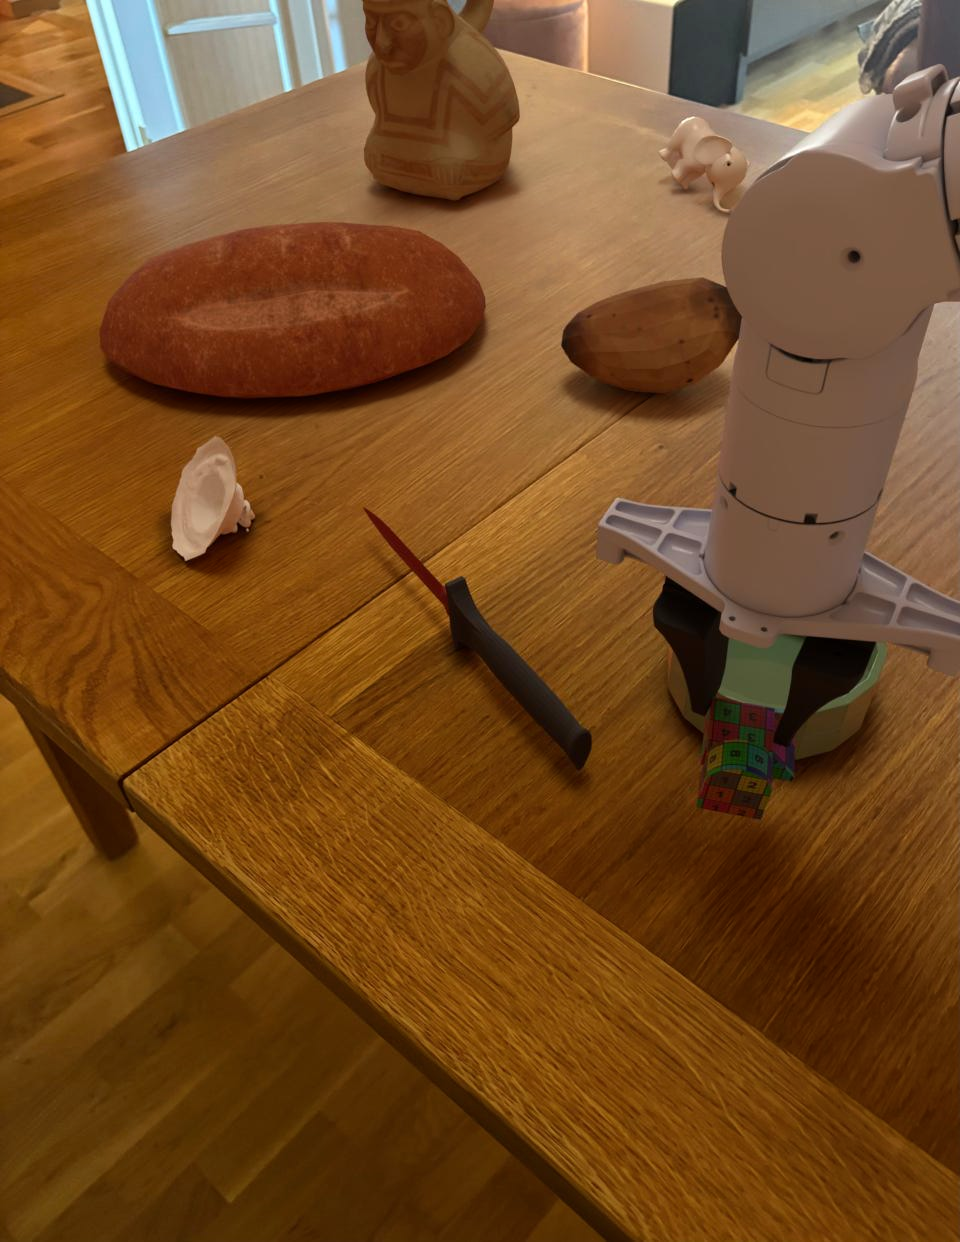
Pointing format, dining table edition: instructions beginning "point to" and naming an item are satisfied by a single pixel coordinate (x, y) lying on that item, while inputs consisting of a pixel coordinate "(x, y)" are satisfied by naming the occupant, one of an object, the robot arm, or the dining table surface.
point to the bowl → (783, 691)
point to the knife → (498, 655)
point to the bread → (291, 310)
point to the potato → (655, 335)
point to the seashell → (207, 500)
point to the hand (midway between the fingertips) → (745, 713)
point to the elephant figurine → (704, 158)
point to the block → (741, 758)
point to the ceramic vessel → (436, 98)
